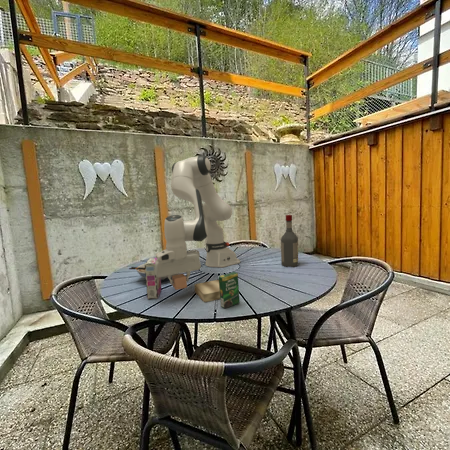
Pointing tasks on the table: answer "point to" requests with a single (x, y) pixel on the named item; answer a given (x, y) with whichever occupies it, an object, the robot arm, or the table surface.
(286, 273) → the table surface
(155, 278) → the candy bar box
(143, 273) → the ramen bowl
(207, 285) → the maple block
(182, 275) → the terracotta cube
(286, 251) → the liquor
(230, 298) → the coffee box
